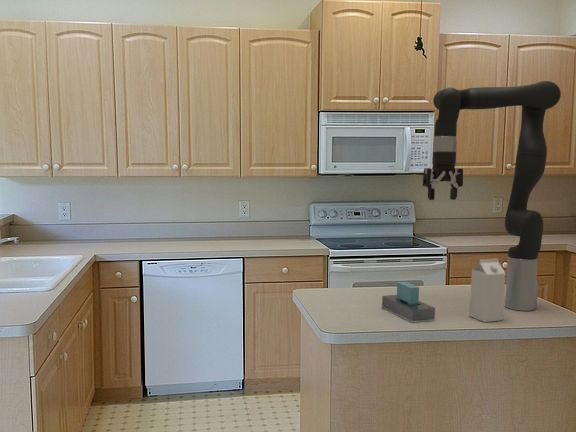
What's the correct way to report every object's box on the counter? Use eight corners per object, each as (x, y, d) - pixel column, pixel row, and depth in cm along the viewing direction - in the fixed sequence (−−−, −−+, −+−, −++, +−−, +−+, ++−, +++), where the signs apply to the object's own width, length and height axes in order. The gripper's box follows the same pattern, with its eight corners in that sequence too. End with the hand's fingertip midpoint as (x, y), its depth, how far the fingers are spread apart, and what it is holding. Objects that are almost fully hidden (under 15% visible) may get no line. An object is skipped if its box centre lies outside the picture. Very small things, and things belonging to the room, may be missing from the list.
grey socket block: (382, 307, 190) (382, 295, 190) (402, 305, 193) (403, 294, 192) (412, 322, 173) (412, 310, 173) (434, 320, 176) (435, 307, 176)
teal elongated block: (396, 309, 186) (397, 282, 185) (404, 308, 187) (405, 281, 186) (409, 316, 179) (410, 288, 178) (417, 315, 180) (419, 287, 179)
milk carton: (469, 316, 182) (472, 257, 179) (487, 314, 184) (490, 256, 182) (484, 322, 175) (487, 261, 173) (502, 320, 177) (506, 260, 175)
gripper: (455, 150, 193) (452, 198, 195) (419, 150, 188) (417, 199, 190) (469, 151, 186) (467, 200, 188) (433, 150, 181) (430, 201, 183)
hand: (442, 199), depth 189 cm, fingers open, 8 cm apart
